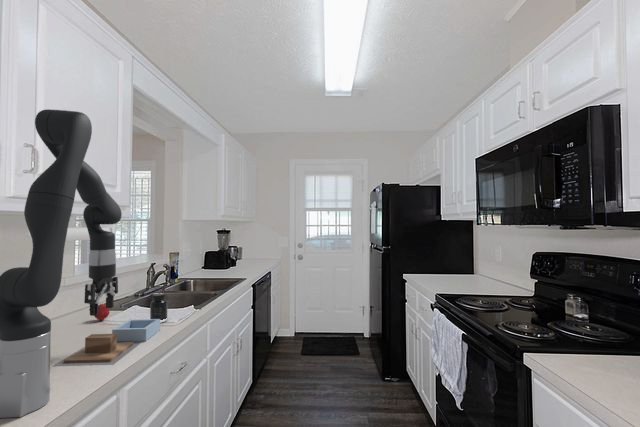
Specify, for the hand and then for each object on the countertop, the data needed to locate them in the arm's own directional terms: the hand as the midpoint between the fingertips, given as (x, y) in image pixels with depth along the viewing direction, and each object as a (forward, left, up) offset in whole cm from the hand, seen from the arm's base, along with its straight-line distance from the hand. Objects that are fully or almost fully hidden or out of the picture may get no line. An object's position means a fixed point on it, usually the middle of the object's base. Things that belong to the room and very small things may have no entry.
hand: (102, 311), depth 108 cm
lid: (0, 0, -14) cm, 14 cm away
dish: (+16, -4, -14) cm, 22 cm away
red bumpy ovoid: (+38, +22, -15) cm, 46 cm away
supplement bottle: (+35, -4, -15) cm, 38 cm away
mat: (0, 0, -14) cm, 14 cm away
